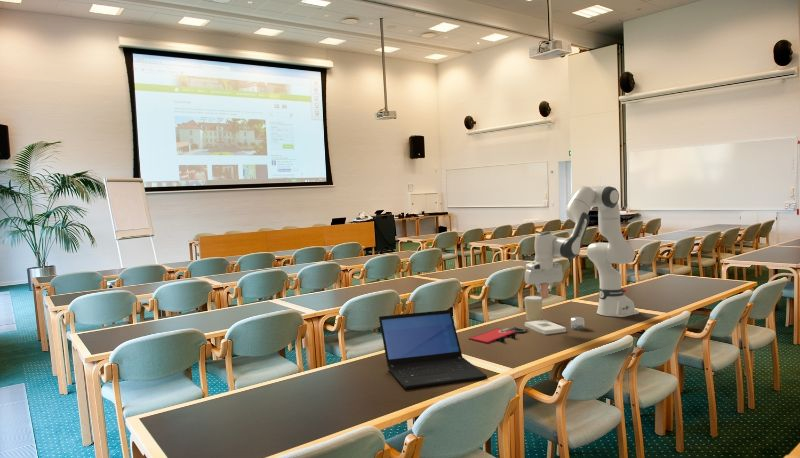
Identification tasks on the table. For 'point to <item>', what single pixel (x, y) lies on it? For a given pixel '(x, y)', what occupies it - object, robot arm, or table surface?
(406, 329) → the laptop
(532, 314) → the coffee cup
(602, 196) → the robot arm
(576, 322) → the clear glass block
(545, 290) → the terracotta peg
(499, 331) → the red board with handle
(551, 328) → the white flat block
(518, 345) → the table surface
